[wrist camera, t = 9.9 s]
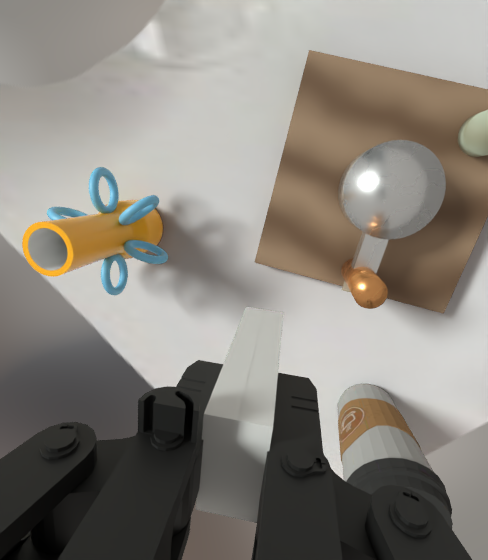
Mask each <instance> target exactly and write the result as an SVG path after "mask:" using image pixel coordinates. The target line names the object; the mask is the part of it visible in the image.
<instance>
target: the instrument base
mask: <svg viewBox="0 0 488 560" xmlns="http://www.w3.org/2000/svg"><path fill="white" fill-rule="evenodd" d="M393 140H408V141H413V142H416V143H419V144H421V145H423V146H425V147H426V148H428V149H429V150H431V151H432V152H433V153H434V154H435V155H436V157H437V158H438V159H439V161H440V163H441V165H442V167H443V170H444V173H445V179H446V190H445V195H444V199H443V202H442V204H441V207H440V209H439V210H438V212H437V214H436V215H435V216H434V218H433V219H432V220H431V221H430V222H429V223H428V224H427V225H426V226H425V227H423V228H422V229H421V230H419V231H417V232H416V233H414V234H412V235H409V236H406V237H403V238H399V239H389V240H388V243H387V246H386V249H385V251H384V254H383V257H382V259H381V262H380V265H379V268H378V270H377V273H376V275H377V276H378V277H379V278H380V279H381V280H382V281H383V282H384V283H385V285H386V287H387V290H388V295H387V298H388V299H392V300H395V301H399V302H403V303H407V304H410V305H414V306H418V307H421V308H425V309H429V310H432V311H436V312H440V313H443V314H444V311H445V309H446V307H447V305H448V303H449V300H450V298H451V296H452V294H453V292H454V289H455V287H456V285H457V283H458V281H459V278H460V276H461V274H462V272H463V270H464V267H465V265H466V263H467V261H468V259H469V257H470V254H471V252H472V250H473V248H474V246H475V243H476V241H477V239H478V237H479V235H480V232H481V230H482V228H483V226H484V224H485V221H486V219H487V217H488V89H483V88H479V87H474V86H470V85H465V84H461V83H456V82H451V81H447V80H442V79H438V78H433V77H429V76H424V75H420V74H415V73H411V72H406V71H402V70H397V69H393V68H388V67H383V66H379V65H374V64H370V63H365V62H361V61H356V60H352V59H347V58H343V57H338V56H334V55H329V54H324V53H320V52H315V51H311V50H309V53H308V57H307V61H306V65H305V69H304V72H303V76H302V80H301V84H300V88H299V92H298V96H297V100H296V104H295V107H294V111H293V115H292V119H291V123H290V127H289V131H288V135H287V139H286V142H285V146H284V150H283V154H282V158H281V162H280V166H279V170H278V173H277V177H276V181H275V185H274V189H273V193H272V197H271V201H270V205H269V208H268V212H267V216H266V220H265V224H264V228H263V232H262V236H261V239H260V243H259V247H258V251H257V255H256V259H255V263H259V264H263V265H266V266H270V267H274V268H277V269H281V270H285V271H289V272H292V273H296V274H300V275H303V276H307V277H311V278H314V279H318V280H322V281H325V282H329V283H333V284H336V285H340V286H343V287H342V290H343V291H347V292H351V291H350V289H349V288H348V286H347V284H346V282H345V280H344V278H343V276H342V273H341V269H342V266H343V264H344V263H345V262H346V261H347V260H349V259H352V258H354V255H355V252H356V250H357V247H358V244H359V241H360V238H361V235H362V232H363V231H361V230H360V229H358V228H357V227H355V226H354V225H352V224H351V223H350V222H349V221H348V220H347V218H346V217H345V216H344V214H343V212H342V210H341V208H340V204H339V199H338V190H339V184H340V180H341V177H342V175H343V173H344V171H345V169H346V168H347V167H348V165H349V164H350V163H351V162H352V161H353V160H354V159H355V158H356V157H357V156H359V155H360V154H361V153H363V152H365V151H367V150H369V149H371V148H373V147H375V146H377V145H379V144H382V143H384V142H388V141H393Z"/></svg>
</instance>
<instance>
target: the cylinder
mask: <svg viewBox="0 0 488 560" xmlns="http://www.w3.org/2000/svg"><path fill="white" fill-rule="evenodd" d="M101 176H103V177H105V179H106V180H107V182H108V185H109V189H110V201H109V204H107V205H106V206H105V205H104V204H103V203H102V201H101V199H100V196H99V190H98V185H99V180H100V178H101ZM89 193H90V197H91V200H92V203H93V205H94V206H95V208H96V209H97V210H98V211H99V213H98V214H94V215H87V214H85V213H83V212H80V211H77V210H74V209H70V208H65V207H52V208H49V209H48V211H47V215H48V217H49V218H50V219H51V221H44V222H38V223H35V224H33V225H31V226H30V227H29V228H28V229H27V230H26V232H25V234H24V236H23V242H22V245H23V252H24V255H25V257H26V259H27V261H28V262H29V264H30V265H31V266H32V267H33V268H34V269H35V270H36V271H38V272H39V273H41V274H43V275H46V276H59V275H62V274H64V273H67V272H70V271H72V270H75V269H78V268H80V267H83V266H86V265H88V264H91V263H94V262H96V261H99V260H102V259H104V258H105V260H104V262H103V264H102V269H101V280H102V284H103V287H104V289H105V290H106V291H107V292H108V293H109V294H111V295H118V294H120V293H121V292H122V291H123V290H124V288H125V286H126V283H127V277H128V271H127V265H126V262H125V260H124V259H129V258H133V257H134V258H136V259H138V260H140V261H143V262H147V263H152V264H162V263H165V262H166V261H167V260H168V255H167V253H166V252H165V251H164V250H163V249H161V248H160V247H158V246H157V245H158V243H159V242H160V240H161V237H162V234H163V224H162V220H161V217H160V215H159V213H158V212H157V211H156V209H155V208H156V206H157V205H158V204H159V198H158V197H157V196H155V195H151V196H148V197H145V198H143V199H141V200H126V201H118V187H117V183H116V180H115V178H114V176H113V175H112V173H111V172H110V171H109V170H108V169H106V168H103V167H99V168H96V169H95V170H94V171H93V172H92V174H91V176H90V179H89ZM61 215H66V216H71V217H73V218H65V217H63V216H61ZM148 251H151V252H153V253H155V254H157V255H158V256H154V255H149V254H146V253H145V252H148ZM113 261H116V262H117V263H118V265H119V269H120V278H119V282H118V285H117V286H116V287H115V288H114V287H113V286H112V284H111V280H110V268H111V265H112V263H113Z"/></svg>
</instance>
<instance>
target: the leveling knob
mask: <svg viewBox="0 0 488 560" xmlns="http://www.w3.org/2000/svg"><path fill="white" fill-rule="evenodd" d="M445 190H446V179H445V173H444V170H443V167H442V165H441V163H440V161H439V159H438V158H437V157H436V155H435V154H434V153H433V152H432V151H431V150H429V149H428V148H426V147H425V146H423V145H421V144H419V143H416V142H413V141H408V140H393V141H388V142H384V143H382V144H379V145H377V146H375V147H373V148H371V149H369V150H367V151H365V152H363V153H361V154H360V155H359V156H357V157H356V158H355V159H354V160H353V161H352V162H351V163H350V164H349V165H348V167H347V168H346V169H345V171H344V173H343V175H342V177H341V180H340V184H339V190H338V199H339V204H340V208H341V210H342V212H343V214H344V216H345V217H346V218H347V220H348V221H349V222H350V223H351V224H352V225H354V226H355V227H357V228H358V229H360V230H361V231H363V232H362V235H361V238H360V241H359V244H358V247H357V250H356V252H355V255H354V258H352V259H349V260H347V261H346V262H345V263H344V264H343V266H342V269H341V273H342V276H343V278H344V280H345V282H346V284H347V286H348V288H349V289H350V291H351V293H352V295H353V297H354V299H355V301H356V302H357V303H358V304H359V305H360V306H361V307H364V308H368V309H371V308H376V307H378V306H380V305H382V304H383V303H384V301H385V300H386V298H387V295H388V290H387V287H386V285H385V283H384V282H383V281H382V280H381V279H380V278H379V277H378V276H377V275H376V273H377V270H378V268H379V265H380V262H381V259H382V257H383V254H384V251H385V249H386V246H387V243H388V240H389V239H399V238H403V237H406V236H409V235H412V234H414V233H416V232H417V231H419V230H421V229H422V228H423V227H425V226H426V225H427V224H428V223H429V222H430V221H431V220H432V219H433V218H434V216H435V215H436V214H437V212H438V210H439V209H440V207H441V204H442V202H443V199H444V195H445Z"/></svg>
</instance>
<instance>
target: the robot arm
mask: <svg viewBox="0 0 488 560" xmlns="http://www.w3.org/2000/svg"><path fill="white" fill-rule="evenodd" d="M282 323H283V312H278V311H271V310H265V309H258V308H252V307H246V309H245V311H244V314H243V316H242V319H241V321H240V324H239V326H238V329H237V331H236V334H235V336H234V339H233V341H232V344H231V347H230V349H229V352H228V354H227V357H226V359H225V362H224V364H218V363H212V362H206V361H200V360H198V361H196V362H195V363H193V364H192V365H190V366H189V367H187V369H186V371H185V372H184V374H183V376H182V378H181V379H180V381H179V383H178V384H177V387H162V388H156V389H154V390H152V391H149V392H147V393H145V394H144V395H143V396H142V397H141V398H140V399H139V401H138V433H137V434H136V436H133V437H130V438H124V439H115V440H100V441H96V435H95V432H94V430H93V429H92V428H90V427H89V426H88V425H86V424H82V423H78V422H70V423H61V424H58V425H54V426H51V427H48V428H47V429H45V430H43V431H41V432H39V433H37V434H36V435H34V436H33V437H32V438H30V439H29V440H27V441H26V442H24V443H23V444H22V445H20V446H19V447H17V448H16V449H14V450H13V451H11V452H10V453H9V454H7V455H6V456H4V457H3V458H1V459H0V560H181V559H182V556H183V553H184V550H185V546H186V543H187V540H188V536H189V531H190V521H191V514H192V511H193V508H194V505H195V501H196V498H197V501H196V509H197V510H201V511H206V512H210V513H215V514H219V515H223V516H228V517H233V518H237V519H241V520H246V521H250V522H255V523H257V527H256V534H255V541H254V547H253V553H252V560H472V559H471V557H470V556H469V554H468V553H467V551H466V550H465V548H464V547H463V546H462V544H461V542H460V541H459V540H458V538H457V537H456V535H455V534H454V532H453V531H452V529H451V528H450V526H449V525H448V523H447V522H446V520H445V519H444V517H443V516H442V515H441V514H440V512H439V511H438V510H437V509H436V508H435V507H434V506H433V504H432V503H430V502H429V501H428V500H426V499H425V498H424V497H422V496H421V495H420V494H418V493H416V492H414V491H412V490H410V489H407V488H405V487H401V486H395V485H387V486H382V487H379V488H378V489H377V490H376V491H375V492H374V493H373V495H371V494H369V493H367V492H365V491H363V490H361V489H358V488H356V487H354V486H352V485H351V484H349V483H347V482H346V481H344V480H343V479H341V478H340V477H339V476H338V475H337V474H335V473H334V471H333V470H332V469H331V468H330V465H329V462H328V460H327V459H326V457H325V456H324V454H323V448H322V438H321V428H320V419H319V413H318V411H319V409H318V403H317V402H318V399H317V390H316V388H315V386H314V385H313V384H312V382H311V381H310V379H309V378H305V377H299V376H293V375H288V374H282V373H278V367H279V356H280V345H281V334H282Z"/></svg>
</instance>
